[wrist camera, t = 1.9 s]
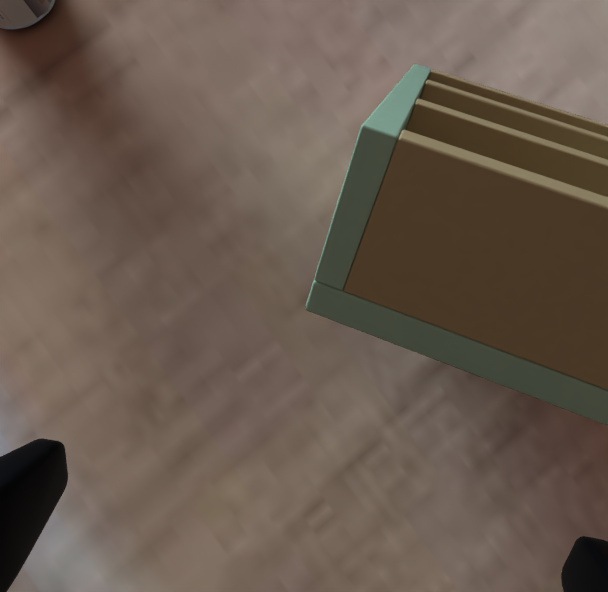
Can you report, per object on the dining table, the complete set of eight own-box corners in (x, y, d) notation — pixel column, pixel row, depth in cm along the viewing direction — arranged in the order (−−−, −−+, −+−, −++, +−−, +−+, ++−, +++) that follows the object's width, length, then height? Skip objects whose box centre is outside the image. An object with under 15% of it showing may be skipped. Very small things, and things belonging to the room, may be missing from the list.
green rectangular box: (615, 252, 21) (764, 487, 11) (376, 170, 23) (303, 310, 12) (692, 151, 19) (995, 336, 8) (414, 63, 20) (361, 123, 9)
